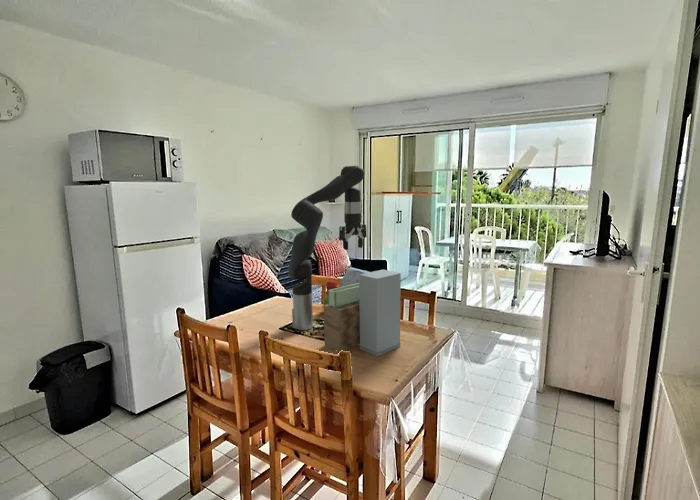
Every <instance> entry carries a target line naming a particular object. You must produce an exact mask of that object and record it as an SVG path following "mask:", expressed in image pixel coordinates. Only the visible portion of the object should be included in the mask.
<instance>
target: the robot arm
mask: <svg viewBox="0 0 700 500" xmlns="http://www.w3.org/2000/svg"><path fill="white" fill-rule="evenodd" d="M364 177H365V170H364V168H363V167H362V166H360V165H347V166H344V167H343V168H342V169H341V171H340V175H338V176H336V177H335V178H333V179H332V180H331V181H330V182H329V183H328V184H326V185H325V186H323V187H321V188H320V189H318V190H317V191H314V192H313V193H311V194H310V195H307V196H305V197H304V198H302V199H301V200H300V201H299V202H297V203H296V204H295V205H294V207H293V209H292V210H291V214H290V215H291V216H290V217H291V219H293V220H294V221H295V222H297V223H298V224H299V225H301V226H302V227H303V228H305V230H302V231H301V232H299V233H297V234H296V235H295V237H294V238H293V242H292V248H291V256H290V260H289V264H288V269H287V270H288V277H289V278H290V279H292V280H295V281H296V280H303V281H302V282H300V283H299V284H296V285H294V286H293V288H292V306H293V307H292V309H291V316H292V317H291V319H292V329H293V328H294V329H295V330H297V329H298V330H297V331H306V330H309V329H312V328H313V327H314V321H313V319H314V318H313V317H314V315H313V313H314V312H313V291H312V288H313V287H312V285H313V283H312V280H313V279H312V278H313V277H312V276H313V266H312V262H311V260H309V258H310V257H311V256H312V255H313V253H314V249H315V245H316V244H315V243H316V240H317V236H318V234H319V233H318V232H319V230H320V227H321V224H322V221H323V217H324V212H323V211H322V209H320V208H319V207H318V206H316V204H319V203H322V202H329V201H334V200H336V199H338V198H340V197H341V196H342V195H343V194H344V208H343V210H344V211H343V212H344V213H343V215H344V218H343V219H344V222H343V223H344V224H345V225H344V226H339V228H338V229H339V231H338V232H339V233H338V235H339V236H338V239H339V241H342V247H343V250H345V251H348V250H349V239H350V238H351V237H352V236H356V237H357V238H358V239H357V247H358V249H359V248H360V249H361V248H363V247H364V239H365V238H367V236H368V235H367V225H366V224H364V223H363V224H362V203H361V199H362V194H361V193H362V192H361V189H360V188H357V187H355V186H357V185H358V184H360V183H361V182H362V181H363V180H364Z"/></svg>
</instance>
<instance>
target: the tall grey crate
mask: <svg viewBox="0 0 700 500" xmlns="http://www.w3.org/2000/svg"><path fill="white" fill-rule="evenodd" d="M368 272H369V273H365V274H360V275H359V300H360V345H359V350H361V351H364V352H366V353H368V354H371V355H373V356H374V357H379V356H381V355H384V354H386V353H389V352H391V351H393V350H396V349H398V348H400V347H401V289H402V288H401V281H402V280H401V278H402V277H401V276H402V274H401V272H397V271H392V270H387V269H380V270H373V271H368Z"/></svg>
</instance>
